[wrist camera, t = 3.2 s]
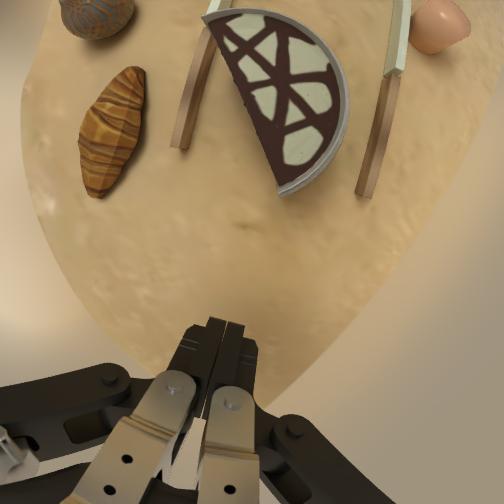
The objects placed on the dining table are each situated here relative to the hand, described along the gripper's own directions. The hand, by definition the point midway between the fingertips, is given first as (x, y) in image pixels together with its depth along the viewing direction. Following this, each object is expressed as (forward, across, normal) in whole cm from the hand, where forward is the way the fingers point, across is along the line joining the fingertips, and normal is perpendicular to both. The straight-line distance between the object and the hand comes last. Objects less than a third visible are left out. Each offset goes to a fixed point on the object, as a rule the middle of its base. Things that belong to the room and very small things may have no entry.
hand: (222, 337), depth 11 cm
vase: (+15, +20, -20) cm, 32 cm away
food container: (+15, 0, -12) cm, 19 cm away
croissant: (+15, +15, -7) cm, 23 cm away
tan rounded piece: (+14, -11, -25) cm, 31 cm away
